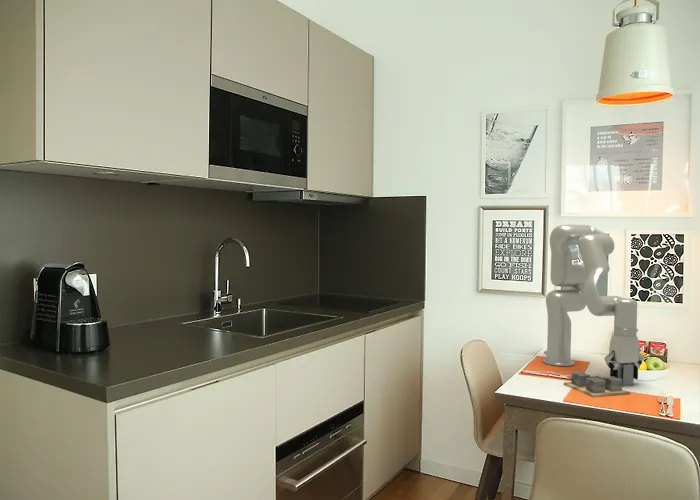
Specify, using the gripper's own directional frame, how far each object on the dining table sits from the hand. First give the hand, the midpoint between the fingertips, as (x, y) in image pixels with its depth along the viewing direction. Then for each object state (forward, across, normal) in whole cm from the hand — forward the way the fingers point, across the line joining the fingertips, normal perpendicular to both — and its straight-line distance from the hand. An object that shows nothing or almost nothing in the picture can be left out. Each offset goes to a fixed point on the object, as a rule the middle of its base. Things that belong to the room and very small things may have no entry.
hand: (623, 378), depth 210 cm
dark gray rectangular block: (+2, 0, 0) cm, 2 cm away
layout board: (+2, +14, +3) cm, 15 cm away
